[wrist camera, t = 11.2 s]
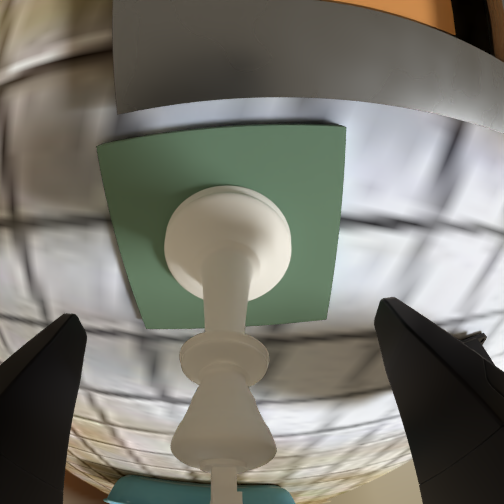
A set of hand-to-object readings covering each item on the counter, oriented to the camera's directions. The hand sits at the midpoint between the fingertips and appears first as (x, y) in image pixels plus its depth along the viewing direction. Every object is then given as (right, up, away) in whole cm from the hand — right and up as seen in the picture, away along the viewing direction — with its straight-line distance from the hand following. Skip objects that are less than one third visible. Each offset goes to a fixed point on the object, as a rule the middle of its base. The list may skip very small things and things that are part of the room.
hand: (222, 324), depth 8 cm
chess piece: (0, +2, +4) cm, 5 cm away
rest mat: (0, +2, +4) cm, 5 cm away
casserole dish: (-8, -42, +31) cm, 52 cm away
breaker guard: (+5, +13, -2) cm, 14 cm away
